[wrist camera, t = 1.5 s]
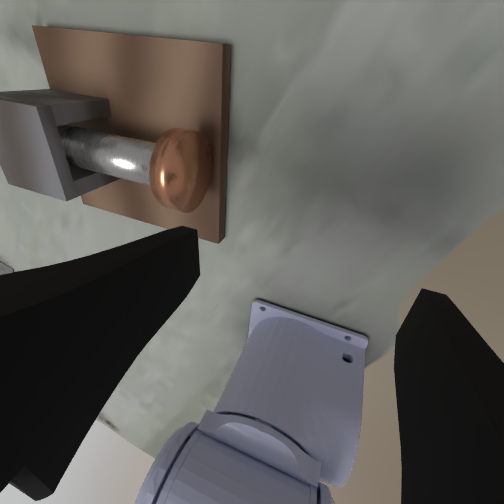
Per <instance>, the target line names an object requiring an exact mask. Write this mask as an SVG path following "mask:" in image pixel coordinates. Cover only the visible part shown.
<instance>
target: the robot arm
mask: <svg viewBox="0 0 504 504" xmlns="http://www.w3.org/2000/svg"><path fill="white" fill-rule="evenodd" d="M199 276H200V264H199V248H198V231H197V229H193V228H190V227H186V226H179V227H175V228H172V229H168V230H165V231H162V232H159V233H156V234H153V235H151V236H148V237H145V238H142V239H139V240H136V241H133V242H130V243H127V244H124V245H121V246H118V247H115V248H112V249H109V250H105V251H102V252H99V253H96V254H92V255H89V256H86V257H82V258H78V259H75V260H71V261H67V262H62V263H58V264H54V265H50V266H45V267H40V268H35V269H30V270H24V271H19V272H13V273H8V274H2V275H0V492H1V491H2V490H3V489H4V488H5V487H6V486H7V485H8V483H10V484H11V485H13V486H14V487H16V488H17V489H19V490H20V491H22V492H23V493H25V494H26V495H27V496H29V497H30V498H32V499H33V500H35V501H37V500H41V499H44V498H46V497H48V496H50V495H51V494H53V493H54V491H55V489H56V488H57V485H58V484H59V482H60V480H61V478H62V476H63V475H64V473H65V471H66V469H67V468H68V466H69V464H70V462H71V460H72V458H73V457H74V455H75V453H76V452H77V450H78V448H79V446H80V444H81V443H82V441H83V439H84V438H85V436H86V434H87V433H88V431H89V430H90V428H91V426H92V424H93V423H94V421H95V420H96V418H97V416H98V415H99V413H100V411H101V410H102V408H103V407H104V405H105V404H106V402H107V400H108V399H109V397H110V396H111V394H112V393H113V391H114V390H115V388H116V387H117V385H118V383H119V382H120V380H121V379H122V378H123V376H124V375H125V373H126V372H127V370H128V369H129V367H130V366H131V365H132V363H133V362H134V360H135V359H136V357H137V356H138V355H139V353H140V352H141V351H142V349H143V348H144V347H145V346H146V344H147V343H148V342H149V341H150V340H151V338H152V337H153V336H154V335H155V334H156V333H157V331H158V330H159V329H160V328H161V327H162V325H163V324H164V323H165V322H166V321H167V320H168V318H169V317H170V316H171V315H172V314H173V313H174V311H175V310H176V309H177V308H178V307H179V305H180V304H181V303H182V302H183V300H184V299H185V298H186V297H187V295H188V294H189V292H190V291H191V289H192V288H193V286H194V284H195V283H196V281H197V279H198V278H199ZM263 307H265V308H263ZM347 336H349V337H347ZM367 345H368V338H367V337H366V336H364V335H361V334H358V333H355V332H352V331H349V330H346V329H343V328H340V327H337V326H334V325H331V324H328V323H326V322H323V321H320V320H317V319H314V318H311V317H308V316H305V315H302V314H299V313H296V312H293V311H290V310H287V309H284V308H281V307H278V306H275V305H272V304H269V303H266V302H263V301H260V300H254V301H253V303H252V308H251V316H250V324H249V332H248V341H247V344H246V346H245V348H244V350H243V352H242V354H241V356H240V358H239V360H238V362H237V364H236V366H235V368H234V370H233V373H232V375H231V377H230V379H229V381H228V383H227V385H226V387H225V389H224V391H223V393H222V395H221V397H220V399H219V401H218V403H217V405H216V407H215V409H214V412H211V411H209V410H206V412H205V414H204V416H203V418H202V420H201V422H200V424H198V423H195V422H190V423H188V424H186V425H185V426H184V427H182V428H180V429H178V430H177V431H176V432H174V433H173V435H172V436H171V437H170V438H169V439H168V441H167V442H166V443H165V445H164V446H163V448H162V449H161V451H160V452H159V454H158V456H157V457H156V459H155V461H154V463H153V464H152V466H151V468H150V470H149V472H148V474H147V476H146V478H145V480H144V482H143V484H142V487H141V489H140V491H139V494H138V496H137V499H136V502H135V504H335V503H334V500H333V498H332V496H331V492H330V489H329V488H328V487H327V486H326V485H324V484H322V483H320V482H319V481H322V482H326V483H328V484H331V485H333V486H337V487H342V486H343V485H345V483H346V482H347V480H348V478H349V475H350V473H351V470H352V467H353V464H354V461H355V457H356V453H357V448H358V442H359V436H360V429H361V419H362V401H363V382H364V363H365V349H366V347H367ZM394 373H395V386H396V397H397V409H398V420H399V432H400V442H401V462H402V492H401V494H402V495H401V504H504V363H503V362H502V361H501V359H500V358H499V357H498V356H497V355H496V354H495V352H494V351H493V350H492V349H491V348H490V347H489V345H488V344H487V343H486V342H485V341H484V340H483V338H482V337H481V336H480V335H479V333H478V332H477V331H476V330H475V328H474V327H473V326H472V325H471V324H470V323H469V321H468V320H467V319H466V317H464V315H463V314H462V313H461V311H460V310H459V309H458V308H457V307H456V305H455V304H454V303H453V302H452V301H451V300H450V298H449V297H448V296H447V295H445V294H441V293H437V292H433V291H430V290H426V289H421V291H420V293H419V295H418V297H417V298H416V300H415V302H414V304H413V306H412V307H411V309H410V311H409V313H408V315H407V317H406V318H405V320H404V322H403V324H402V325H401V327H400V329H399V331H398V333H397V335H396V342H395V359H394Z"/></svg>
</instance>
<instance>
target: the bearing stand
mask: <svg viewBox="0 0 504 504" xmlns="http://www.w3.org/2000/svg"><path fill="white" fill-rule="evenodd" d="M32 28H33V31H34V35H35V38H36V42H37V45H38V49H39V52H40V56H41V59H42V63H43V66H44V69H45V73H46V76H47V80H48V83H49V87H50V89H42V90H25V91H7V92H0V165H1V168H2V170H3V172H4V174H5V177H6V179H7V181H8V184H10V185H14V186H17V187H20V188H24V189H27V190H30V191H34V192H37V193H41V194H44V195H47V196H51V197H54V198H57V199H61V200H64V201H69V200H71V199H73V198H76V197H78V196H81V198H82V201H83V204H86V205H89V206H92V207H96V208H99V209H103V210H106V211H109V212H113V213H116V214H119V215H123V216H126V217H130V218H133V219H136V220H140V221H143V222H146V223H150V224H153V225H157V226H160V227H163V228H167V229H172V228H175V227H179V226H186V227H190V228H193V229H197V231H198V238H201V239H204V240H207V241H211V242H214V243H217V244H219V243H220V242H221V241H222V240H223V239H224V237H225V208H226V179H227V150H228V120H229V91H230V62H231V45H228V44H222V43H212V42H201V41H191V40H180V39H170V38H159V37H149V36H138V35H128V34H117V33H107V32H96V31H86V30H75V29H65V28H54V27H44V26H33V25H32ZM63 124H66V125H71V126H76V127H80V128H85V129H90V130H95V131H100V132H104V133H109V134H114V135H119V136H124V137H128V138H133V139H138V140H143V141H148V142H152V143H157V141H158V140H159V138H160V137H161V136H162V134H163V133H165V132H166V131H167V130H169V129H171V128H181V129H186V130H191V131H197V132H200V133H202V134H203V135H204V136H205V137H206V139H207V140H208V142H209V145H210V149H211V154H212V174H211V180H210V184H209V188H208V191H207V193H206V195H205V197H204V199H203V201H202V203H201V204H200V205H199V206H198V208H196V209H195V210H194V211H192V212H190V213H183V212H180V211H176V210H172V209H169V208H165V207H163V206H161V205H160V204H159V203H158V202H157V201H156V199H155V197H154V195H153V193H152V190H151V186H150V185H146V184H142V183H138V182H134V181H130V180H126V179H122V178H118V177H115V176H111V175H107V174H103V173H99V172H95V171H91V170H87V169H83V168H79V167H75V166H71V165H68V162H67V159H66V155H65V152H64V148H63V145H62V142H61V138H60V135H59V132H58V128H57V125H63Z"/></svg>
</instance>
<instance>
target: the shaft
mask: <svg viewBox="0 0 504 504" xmlns="http://www.w3.org/2000/svg"><path fill="white" fill-rule="evenodd" d="M57 128H58V132H59V135H60V138H61V142H62V145H63V148H64V152H65V155H66V159H67V162H68V165H71V166H75V167H79V168H83V169H87V170H91V171H95V172H99V173H103V174H107V175H111V176H115V177H118V178H122V179H126V180H130V181H134V182H138V183H142V184H146V185H150V186H151V190H152V193H153V195H154V197H155V199H156V201H157V202H158V203H159V204H160V205H161V206H163V207H165V208H169V209H172V210H176V211H180V212H183V213H190V212H192V211H194V210H195V209H196V208H198V206H199V205H200V204H201V203H202V201H203V199H204V197H205V195H206V193H207V191H208V188H209V184H210V180H211V174H212V154H211V149H210V145H209V142H208V140H207V139H206V137H205V136H204V135H203V134H202V133H200V132H197V131H191V130H186V129H181V128H171V129H169V130H167V131H166V132H165V133H163V134H162V136H161V137H160V138H159V140H158V141H157V143H152V142H148V141H143V140H138V139H133V138H128V137H124V136H119V135H114V134H109V133H104V132H100V131H95V130H90V129H85V128H80V127H76V126H71V125H66V124H63V125H58V126H57Z"/></svg>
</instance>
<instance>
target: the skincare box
mask: <svg viewBox="0 0 504 504" xmlns="http://www.w3.org/2000/svg"><path fill="white" fill-rule="evenodd" d="M8 273H13V269H12V268H10V267H8V266H7V265H5V264H3V263H2V262H0V275H2V274H8Z"/></svg>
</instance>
